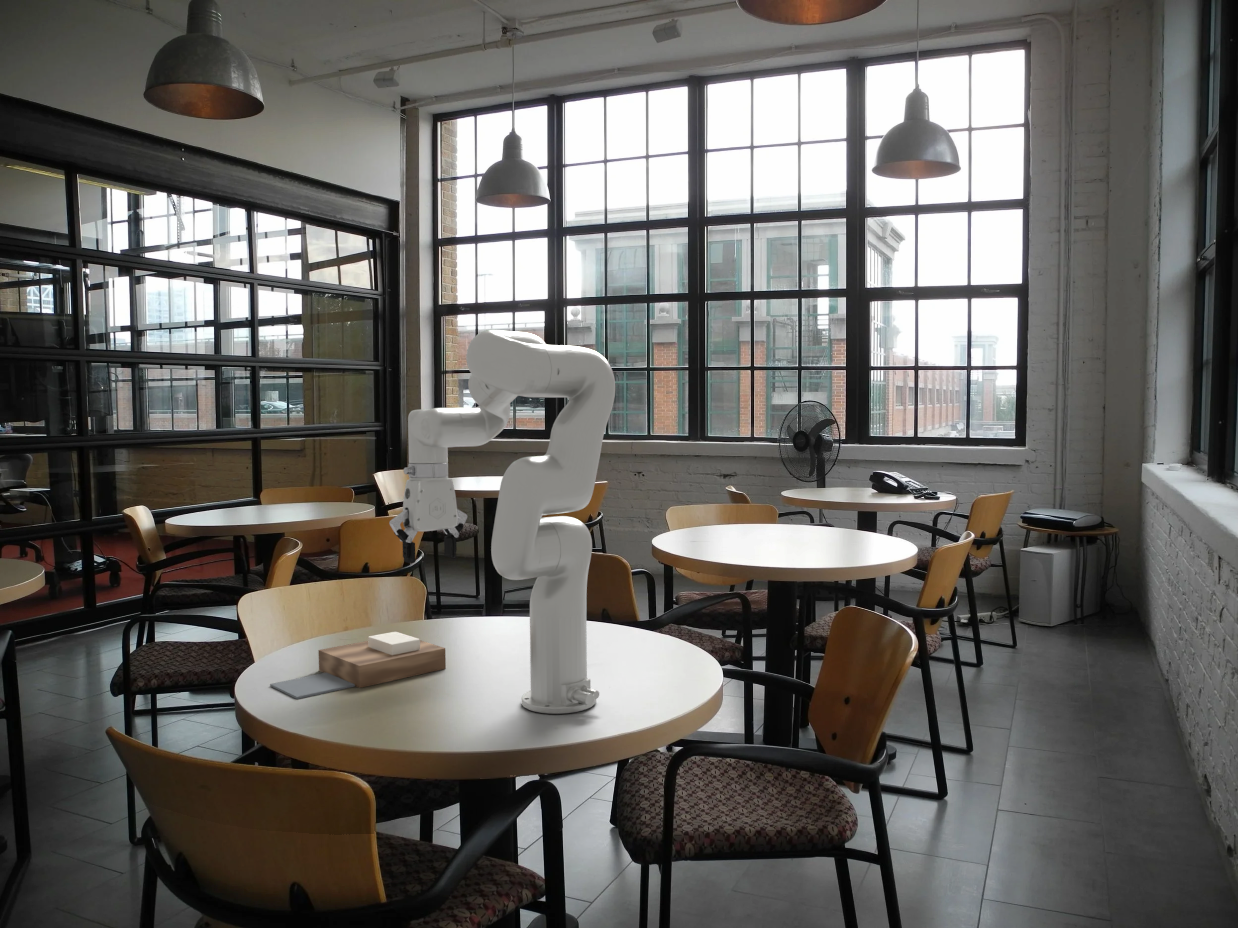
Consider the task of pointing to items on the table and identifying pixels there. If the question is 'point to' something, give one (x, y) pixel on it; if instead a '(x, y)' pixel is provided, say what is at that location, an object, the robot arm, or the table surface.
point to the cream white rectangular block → (394, 643)
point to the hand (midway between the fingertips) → (430, 559)
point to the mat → (312, 685)
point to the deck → (379, 663)
